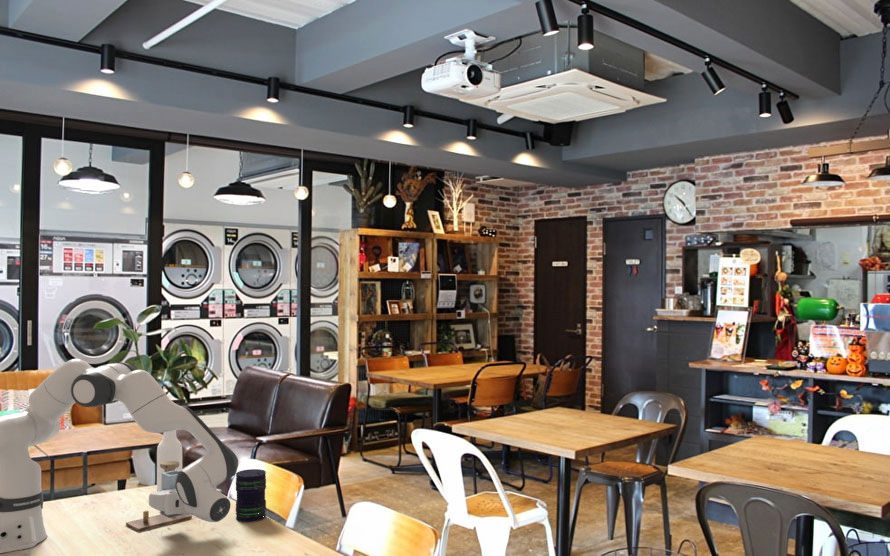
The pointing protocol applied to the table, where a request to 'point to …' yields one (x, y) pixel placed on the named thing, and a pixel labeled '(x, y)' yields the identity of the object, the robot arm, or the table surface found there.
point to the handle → (169, 465)
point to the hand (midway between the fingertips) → (171, 489)
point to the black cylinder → (250, 495)
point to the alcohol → (168, 453)
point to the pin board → (155, 521)
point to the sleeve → (169, 486)
